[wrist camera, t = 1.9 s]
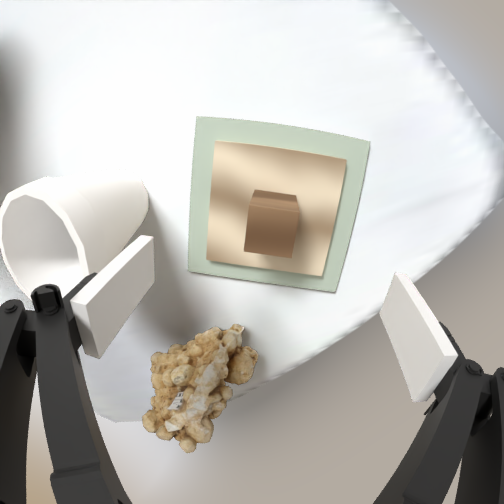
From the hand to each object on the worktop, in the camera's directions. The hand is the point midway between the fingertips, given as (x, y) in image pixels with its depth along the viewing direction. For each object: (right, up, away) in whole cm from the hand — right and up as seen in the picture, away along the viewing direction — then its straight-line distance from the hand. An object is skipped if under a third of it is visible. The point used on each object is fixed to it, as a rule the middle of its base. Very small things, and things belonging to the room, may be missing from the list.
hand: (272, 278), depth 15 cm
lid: (+1, +5, +11) cm, 12 cm away
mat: (+1, +5, +11) cm, 12 cm away
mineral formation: (-6, -9, +19) cm, 21 cm away
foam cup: (-14, +7, +12) cm, 20 cm away
